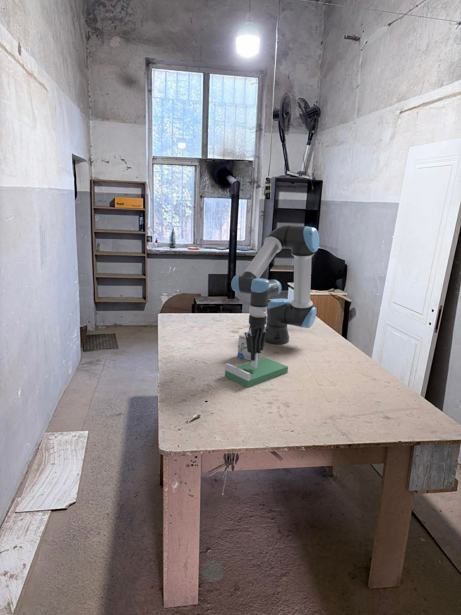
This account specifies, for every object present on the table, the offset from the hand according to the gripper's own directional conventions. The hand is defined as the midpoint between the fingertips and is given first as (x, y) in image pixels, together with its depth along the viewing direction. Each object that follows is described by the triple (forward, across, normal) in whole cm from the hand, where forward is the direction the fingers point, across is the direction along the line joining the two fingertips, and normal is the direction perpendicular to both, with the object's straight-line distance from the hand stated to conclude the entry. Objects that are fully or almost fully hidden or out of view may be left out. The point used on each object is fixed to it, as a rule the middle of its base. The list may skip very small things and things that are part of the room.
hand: (254, 366), depth 186 cm
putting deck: (+4, +2, 0) cm, 5 cm away
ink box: (+5, +13, +17) cm, 22 cm away
